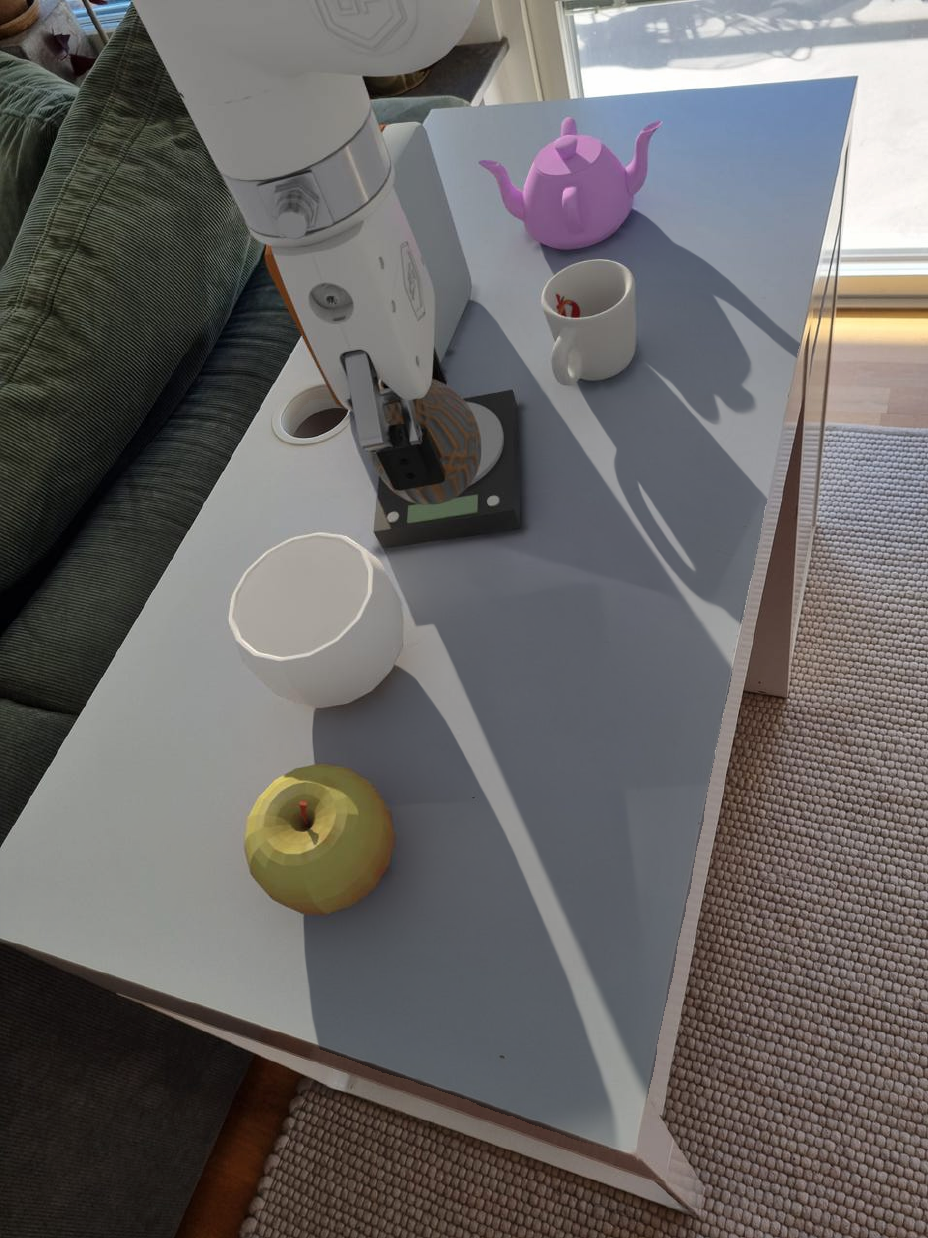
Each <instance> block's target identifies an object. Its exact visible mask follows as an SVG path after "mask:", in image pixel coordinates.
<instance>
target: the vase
mask: <svg viewBox="0 0 928 1238" xmlns="http://www.w3.org/2000/svg"><path fill="white" fill-rule="evenodd" d="M379 388H380V390H382V389H386V388H389V387H388V386H387V385H386V384H385V383H384V382H383V381H382V380H380V381H379ZM413 402H414V406H415V410H416V414H417V418H418V421H419V425H420V429H421V428H422V429H425V428H427V429H428V432H429V434H430V437H431V439H432V441H433V444H434V446H435V449H436V451H437V453H438V456H439V458H440V461H441V463H442V465H443V468H444V470H445V481H444V482H443V483H440V484H434V485H429V486H423V487H418V488H412V489H407V490H401V491H399V490H395V489H394V488H393V487H392V485H391V483H390V481H389V478H388V476H387V474H386V472H385V470H384V468H383V466H382V464H381V462H380V460H379V458H378V456H377V454H376V453H373V452H371V451H370V450H367V451H368V454H369V458H370V460H371V463H372V465H373V467H374V469H375V471H376V473H377V475H378V477H379V476H380V477H381V479H382V480H383V482H384V483H385V484H386V485H387V486H388V487H389V488H390V489H391V490H392V491H393V492H394V493H396V494H397V495H398V496H400V497H402V498H403V499H405V500H407V501H410V502H413V503H417V504H422V505H434V504H440V503H444V502H447V501H450V500H452V499H454V498H455V497H457V496H458V495H460V494H461V493H462V492H463V491H464V490H466V489H467V488H468V486H469V485H470V484H471V482H472V481H473V479H474V478H475V476H476V474H477V472H478V469H479V465H480V461H481V452H482V447H481V436H480V432H479V428H478V425H477V422H476V420H475V417H474V415H473V413H472V411H471V409H470V408H469V406H468V405H467V404H466V402H465V401H464V400H463V397H462V396H461V395H460V393H458V392H457V391H456V390H455V389H453V387H451V386H449V385H448V384H447V385H446V384H444V383H442V382H440V381H437V380H435V379H432V382H431V386H430V388H429V390H428V392H427V393H426V395H425V396H424V397H423V398H421V399H418V398H417V399H413ZM382 406H383V412H384V416H385V419H386V421H387V423H389V424H390V425H394V424H404V421H403V417H402V414H401V410H400V406H399V402H397V403H392V404H387V405H382Z"/></svg>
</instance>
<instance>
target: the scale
mask: <svg viewBox="0 0 928 1238" xmlns="http://www.w3.org/2000/svg"><path fill="white" fill-rule="evenodd" d="M462 399H463V400H464V401H465V402H466V404H467V405H468V406H469V408H470V409H471V411H472V413H473V415H474V417H475V420H476V422H477V425H478V428H479V432H480V436H481V447H482V452H481V461H480V465H479V469H478V472H477V474H476V476H475V478H474V479H473V481H472V482H471V484H470V485H469V486H468V488H467V489H466V490H464V491H463V492H462V493H461V494H460V495H458V496H457V497H455V498H454V499H452V500H450V501H447V502H444V503H440V504H434V505H422V504H417V503H413V502H410V501H407V500H405V499H403V498H402V497H400V496H398V495H397V494H396V493H394V492H393V491H392V490H391V489H390V488H389V487H388V486H387V485H386V484H385V483H384V482H383V480H382V479H381V477H380V476H379V475H378V484H377V492H376V493H377V494H376V502H375V513H374V525H373V533H374V535H375V537H376V539H377V541H378V542H379V544H380V547H381V548H382V550H385V549H392V548H398V547H404V546H412V545H418V544H425V543H432V542H438V541H444V540H450V539H452V540H453V539H458V538H465V537H472V536H477V535H484V534H485V535H486V534H490V533H497V532H503V531H510V530H516V529H517V530H518V529H521V494H520V493H521V489H520V488H521V486H520V484H521V483H520V482H521V481H520V479H521V477H520V408H519V405H518V402H517V398H516V393H515V392H514V389H506V390H501V391H496V392H491V393H484V394H480V395H475V396H474V395H473V396H468V397H464V398H463V397H462Z"/></svg>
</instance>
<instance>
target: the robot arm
mask: <svg viewBox="0 0 928 1238" xmlns="http://www.w3.org/2000/svg"><path fill="white" fill-rule="evenodd" d="M131 3H132V4H133V6H134V8H135V10H136V12H137V14H138V16H139V18H140V20H141V22H142V25H143V26H144V28H145V30H146V32H147V34H148V36H149V37H150V39H151V42H152V44H153V45H154V47H155V49H156V51H157V53H158V56H159V58H160V59H161V61H162V63H163V65H164V67H165V69H166V71H167V73H168V75H169V77H170V79H171V80H172V83H173V85H174V86H175V88H176V91H177V92H178V95H179V96H180V99H181V100H182V102H183V105H184V106H185V108H186V110H187V112H188V113H189V116H190V118H191V120H192V123H193V124H194V126H195V128H196V130H197V132H198V134H199V136H200V137H201V139H202V142H203V143H204V145H205V147H206V149H207V151H208V153H209V155H210V157H211V159H212V161H213V163H214V165H215V167H216V169H217V171H218V173H219V175H220V177H221V179H222V181H223V183H224V185H225V186H226V188H227V190H228V193H229V194H230V196H231V199H232V200H233V202H234V204H235V206H236V208H237V210H238V213H239V214H240V216H241V218H242V220H243V221H244V223H245V226H246V227H247V229H248V232H249V233H250V235H251V236H252V237H253V238H254V239H255V240H256V241H258V242H259V243H261V244H264V245H265V246H266V245H269V246H271V249H272V253H273V255H274V258H275V261H276V263H277V266H278V269H279V271H280V274H281V276H282V279H283V282H284V284H285V287H286V289H287V292H288V294H289V297H290V299H291V302H292V304H293V306H294V309H295V311H296V314H297V316H298V318H299V321H300V323H301V325H302V328H303V330H304V332H305V335H306V337H307V339H308V341H309V343H310V346H311V348H312V350H313V352H314V354H315V357H316V359H317V361H318V363H319V365H320V367H321V369H322V371H323V373H324V375H325V377H326V379H327V381H328V383H329V385H330V386H331V388H332V390H333V392H334V393H335V395H336V397H337V398H338V400H339V401H340V403H341V404H342V405H343V406H344V407H345V408H346V409H348V410H347V411H350V412H352V413H353V414H354V415H353V416H354V420H355V427H356V431H357V438H358V442H359V445H360V448H361V449H362V450H364V451H368V450H370V451H371V452H373V453H376V454H377V456H378V458H379V460H380V462H381V464H382V466H383V468H384V470H385V472H386V474H387V476H388V478H389V481H390V483H391V485H392V487H393V488H394V489H395V490H399V491H401V490H407V489H412V488H418V487H423V486H429V485H434V484H440V483H443V482H444V481H445V470H444V468H443V465H442V463H441V461H440V458H439V456H438V453H437V451H436V449H435V446H434V444H433V441H432V439H431V437H430V434H429V432H428V429H427V428H425V429H422V428H421V429H420V425H419V421H418V418H417V414H416V410H415V406H414V402H413V399H417V398H418V399H421V398H423V397H424V396H425V395H426V393H427V392H428V390H429V388H430V386H431V382H432V379H435V380H437V381H440V382H442V383H444V384H446V385H448V380H447V377H446V375H445V372H444V368H443V367H442V362H441V363H440V361H439V358H438V355H437V353H436V350H435V347H434V324H435V297H434V290H433V285H432V281H431V278H430V276H429V273H428V270H427V268H426V265H425V263H424V260H423V258H422V255H421V253H420V250H419V248H418V245H417V243H416V240H415V238H414V236H413V233H412V231H411V228H410V226H409V223H408V221H407V218H406V216H405V213H404V211H403V209H402V206H401V204H400V201H399V199H398V197H397V195H396V192H395V190H394V188H393V184H394V180H395V170H394V166H393V164H392V161H391V158H390V156H389V152H388V149H387V147H386V144H385V141H384V138H383V135H382V132H381V129H380V126H379V125H380V124H379V121H378V117H377V115H376V112H375V110H374V107H373V103H372V101H371V98H370V95H369V92H368V89H367V87H366V84H365V83H366V82H365V80H364V78H363V77H375V78H379V77H396V76H402V75H408V74H412V73H415V72H417V71H420V70H423V69H426V68H428V67H430V66H432V65H434V64H435V63H437V62H438V61H440V60H441V59H443V58H444V57H445V56H447V55H448V54H449V53H450V51H452V50H453V48H454V47H455V46H456V45H457V44H458V43H459V41H460V40H461V39H462V38H463V36H464V35H465V33H466V31H467V30H468V28H469V27H470V25H471V24H472V21H473V19H474V17H475V15H476V12H477V10H478V8H479V5H480V3H481V0H131ZM378 380H382V381H383V382H384V383H385V384H386V385H387V386H388V387H389V388H386V389H382V390H380V388H379V383H378ZM397 402H399V406H400V410H401V414H402V417H403V421H404V424H394V425H390V424H389V423H387V421H386V419H385V416H384V412H383V406H382V405H387V404H392V403H397ZM346 409H345V410H346Z"/></svg>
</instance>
